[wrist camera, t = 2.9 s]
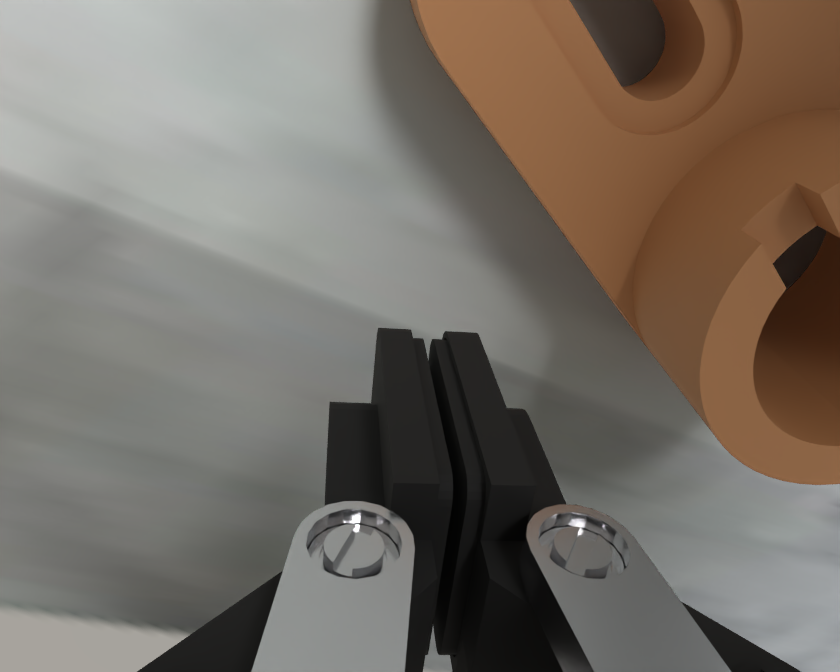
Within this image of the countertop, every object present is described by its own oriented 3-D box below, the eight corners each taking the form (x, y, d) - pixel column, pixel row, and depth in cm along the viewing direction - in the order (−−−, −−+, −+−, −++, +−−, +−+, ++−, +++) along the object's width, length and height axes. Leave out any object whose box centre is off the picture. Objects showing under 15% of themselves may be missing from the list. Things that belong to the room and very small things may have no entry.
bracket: (902, 246, 21) (1115, 354, 15) (676, 390, 23) (786, 534, 17) (629, -373, 14) (836, -639, 8) (332, -84, 16) (315, -120, 10)
